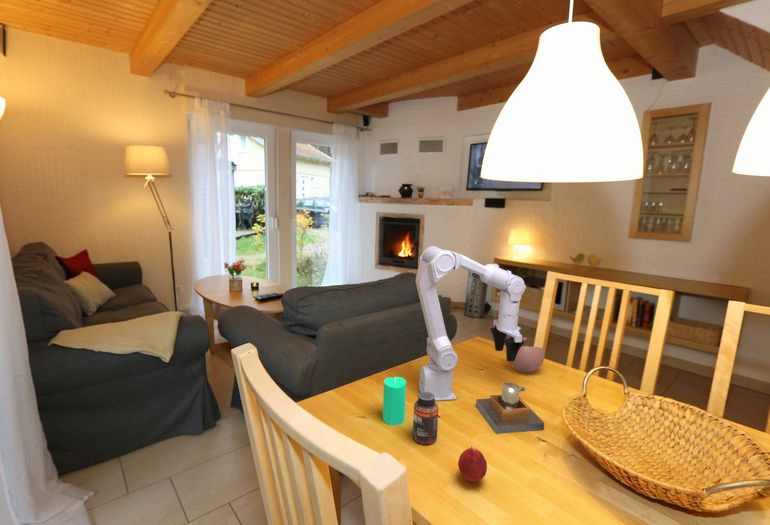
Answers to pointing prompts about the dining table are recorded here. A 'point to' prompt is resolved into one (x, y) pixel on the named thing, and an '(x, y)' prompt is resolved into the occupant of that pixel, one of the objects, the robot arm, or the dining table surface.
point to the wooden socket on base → (509, 416)
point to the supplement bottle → (425, 419)
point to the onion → (472, 464)
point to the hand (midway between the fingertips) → (504, 355)
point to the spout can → (510, 395)
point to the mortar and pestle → (528, 358)
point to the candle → (394, 400)
